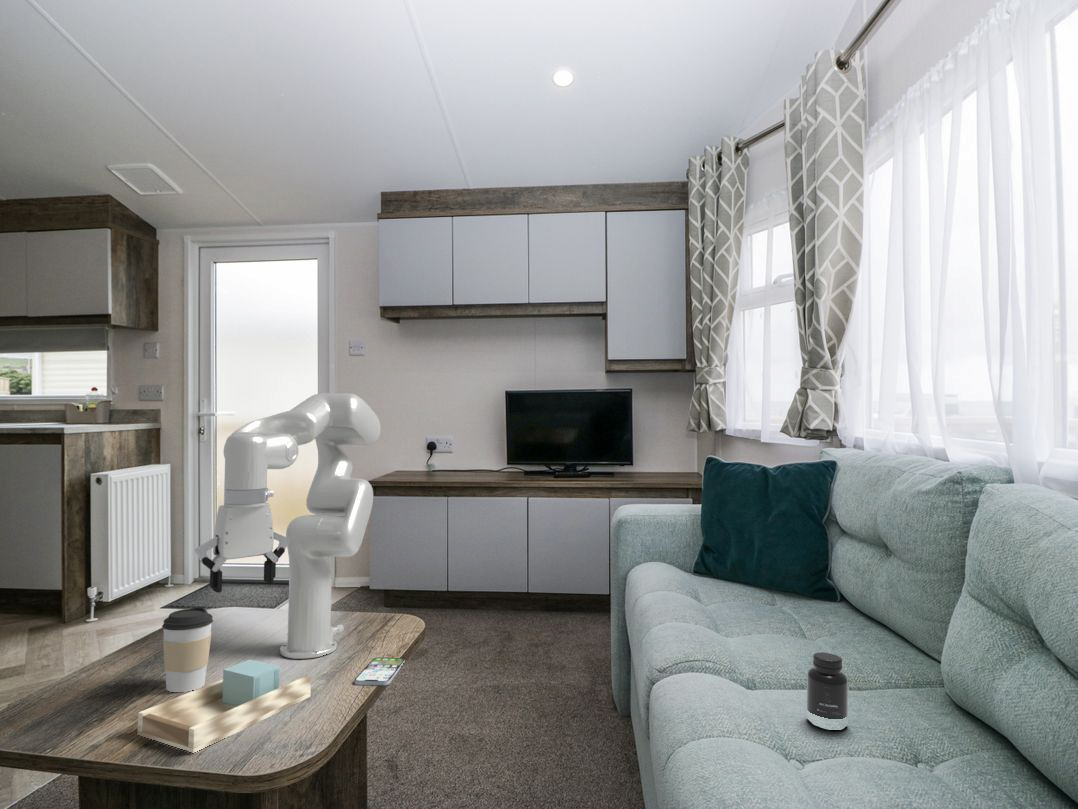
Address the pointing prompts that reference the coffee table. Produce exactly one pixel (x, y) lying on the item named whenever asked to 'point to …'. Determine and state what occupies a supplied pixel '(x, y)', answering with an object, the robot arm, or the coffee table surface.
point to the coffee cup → (186, 648)
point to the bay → (213, 714)
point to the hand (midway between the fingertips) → (243, 586)
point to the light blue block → (249, 681)
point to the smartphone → (379, 671)
